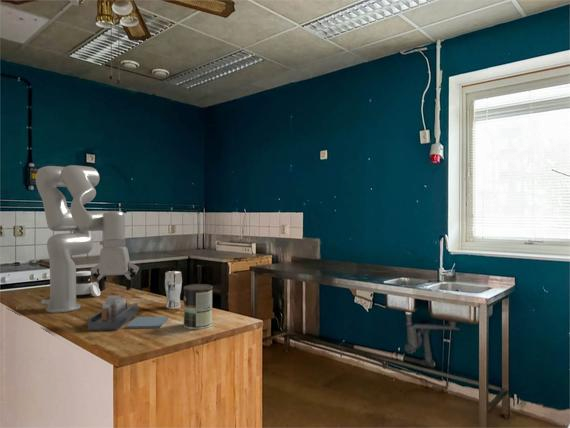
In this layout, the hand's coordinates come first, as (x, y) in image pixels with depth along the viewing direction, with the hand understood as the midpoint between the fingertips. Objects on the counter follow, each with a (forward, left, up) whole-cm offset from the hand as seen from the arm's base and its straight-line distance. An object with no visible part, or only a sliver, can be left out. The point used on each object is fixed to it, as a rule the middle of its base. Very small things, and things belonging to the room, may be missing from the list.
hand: (115, 290), depth 150 cm
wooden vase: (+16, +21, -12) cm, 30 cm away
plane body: (-1, 0, -12) cm, 12 cm away
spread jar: (-30, +44, -12) cm, 55 cm away
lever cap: (-1, 0, -9) cm, 9 cm away
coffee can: (+31, -6, -12) cm, 34 cm away
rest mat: (+12, -3, -12) cm, 17 cm away
